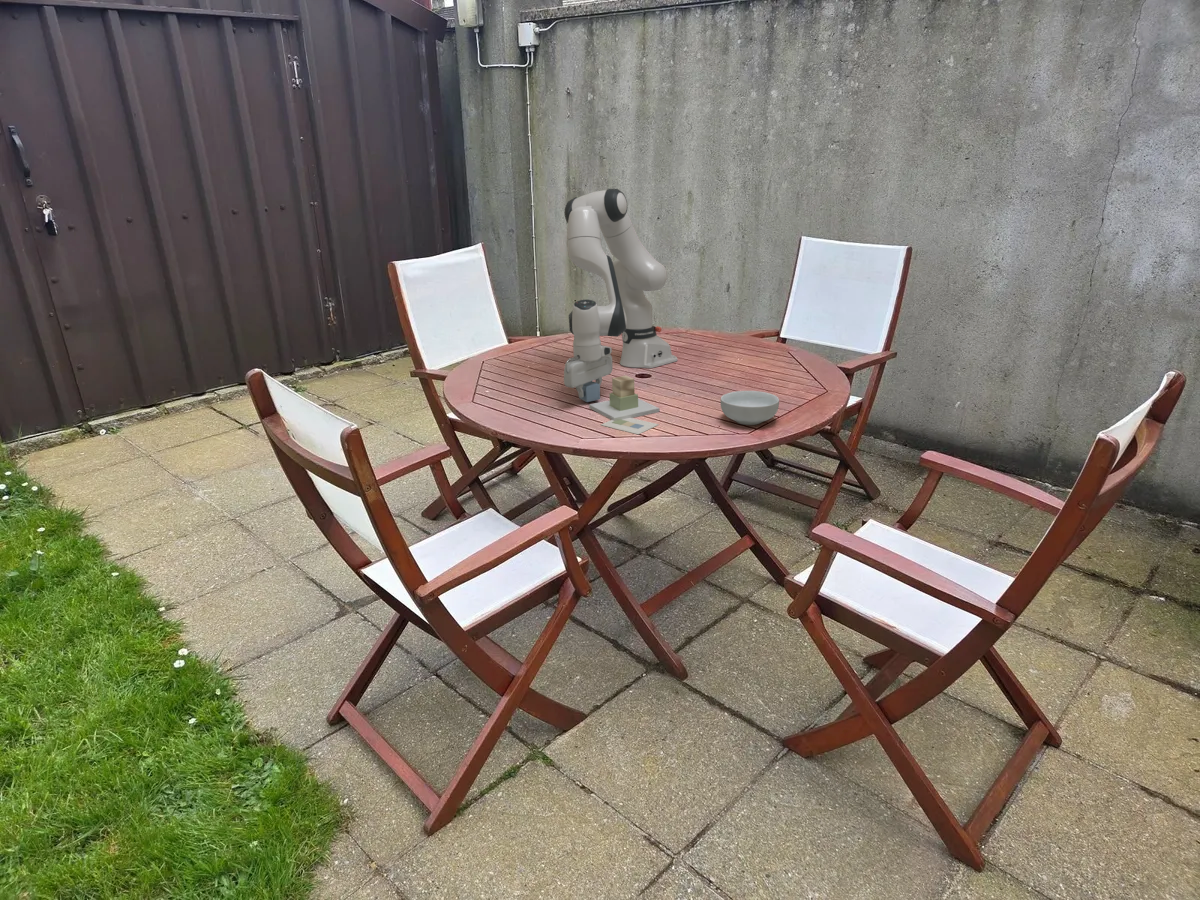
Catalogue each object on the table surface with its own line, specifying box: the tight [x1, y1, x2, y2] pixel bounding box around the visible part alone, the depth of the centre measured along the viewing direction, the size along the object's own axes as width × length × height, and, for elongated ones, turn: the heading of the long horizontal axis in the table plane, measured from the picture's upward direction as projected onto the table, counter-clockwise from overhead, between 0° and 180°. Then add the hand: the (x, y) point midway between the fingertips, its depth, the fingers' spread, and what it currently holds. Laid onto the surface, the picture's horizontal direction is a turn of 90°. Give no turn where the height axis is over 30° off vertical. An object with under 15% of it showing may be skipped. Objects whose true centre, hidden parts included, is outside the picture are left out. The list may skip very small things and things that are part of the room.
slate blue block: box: [578, 380, 601, 403], centre depth 242 cm, size 5×5×5 cm
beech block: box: [611, 375, 636, 397], centre depth 231 cm, size 5×5×5 cm
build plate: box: [588, 392, 660, 421], centre depth 233 cm, size 16×16×5 cm
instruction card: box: [600, 417, 659, 435], centre depth 220 cm, size 10×14×1 cm
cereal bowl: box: [720, 390, 780, 426], centre depth 219 cm, size 17×17×7 cm
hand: (589, 393), depth 242 cm, fingers closed on slate blue block, 6 cm apart
